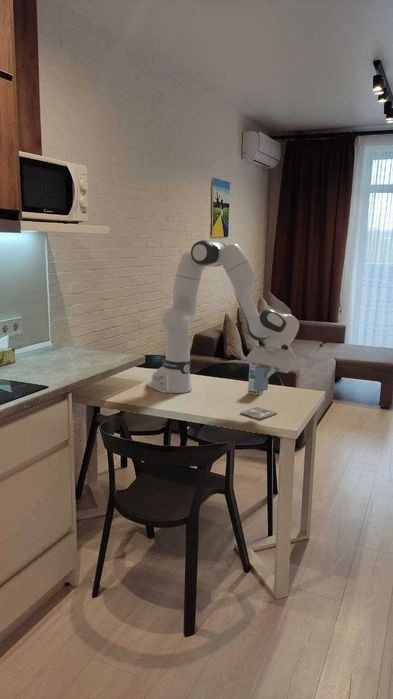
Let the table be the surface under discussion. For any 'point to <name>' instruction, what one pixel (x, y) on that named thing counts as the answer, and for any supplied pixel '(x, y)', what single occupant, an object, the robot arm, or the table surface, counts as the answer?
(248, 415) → the letter card
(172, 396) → the table surface
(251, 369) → the syrup box
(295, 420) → the table surface
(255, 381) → the slate block
